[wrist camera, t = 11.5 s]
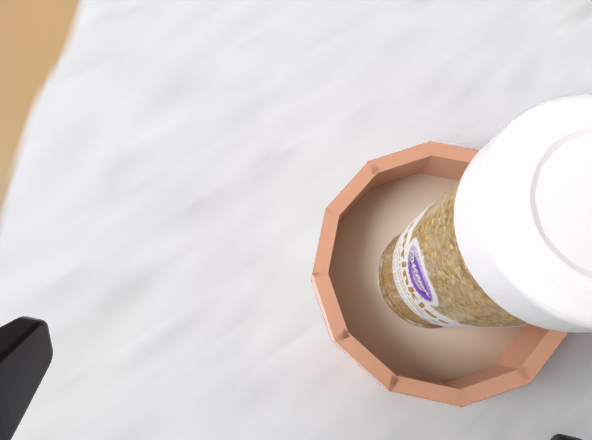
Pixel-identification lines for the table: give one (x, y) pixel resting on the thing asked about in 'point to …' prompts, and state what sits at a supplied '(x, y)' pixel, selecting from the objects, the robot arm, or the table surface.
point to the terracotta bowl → (379, 316)
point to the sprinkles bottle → (506, 232)
